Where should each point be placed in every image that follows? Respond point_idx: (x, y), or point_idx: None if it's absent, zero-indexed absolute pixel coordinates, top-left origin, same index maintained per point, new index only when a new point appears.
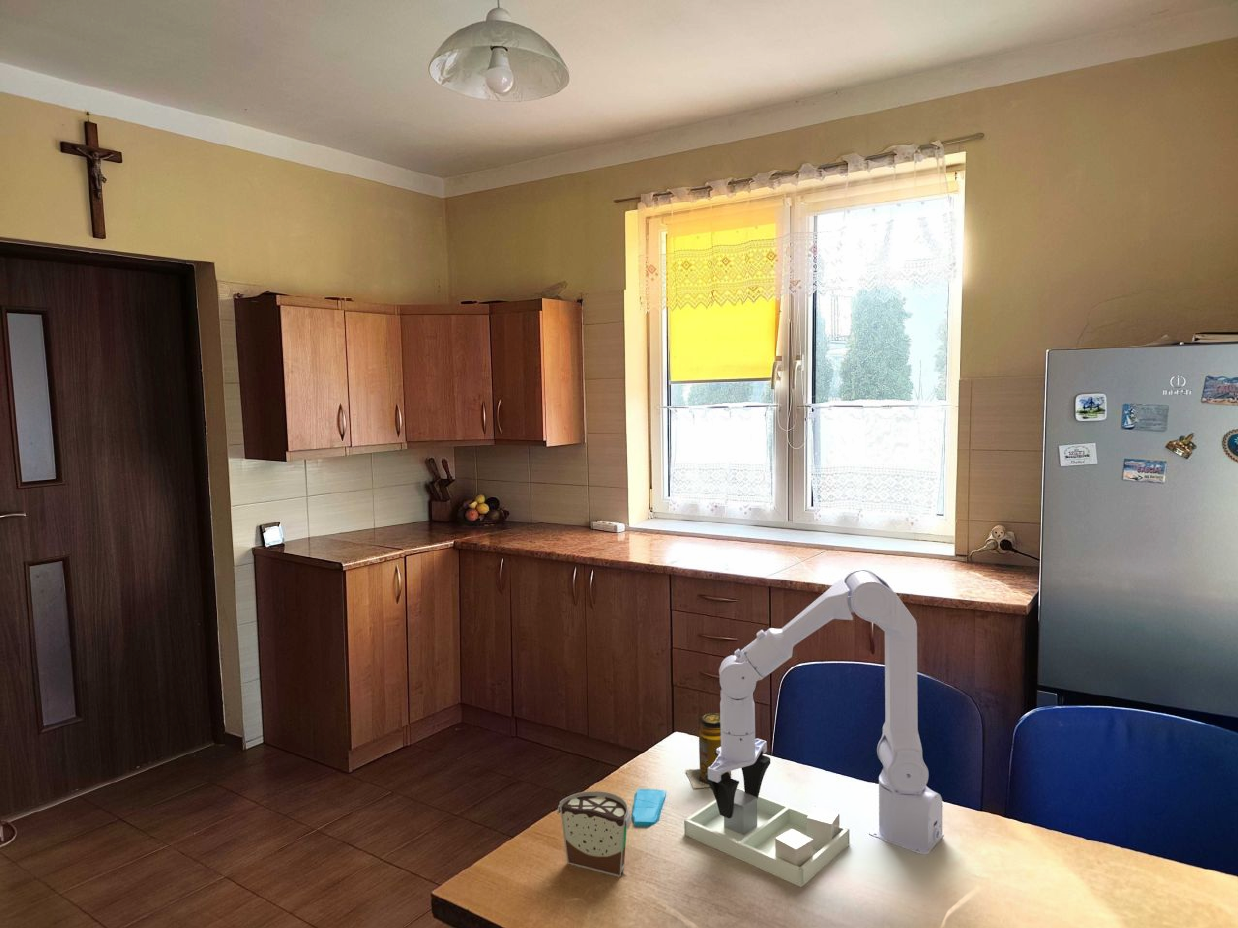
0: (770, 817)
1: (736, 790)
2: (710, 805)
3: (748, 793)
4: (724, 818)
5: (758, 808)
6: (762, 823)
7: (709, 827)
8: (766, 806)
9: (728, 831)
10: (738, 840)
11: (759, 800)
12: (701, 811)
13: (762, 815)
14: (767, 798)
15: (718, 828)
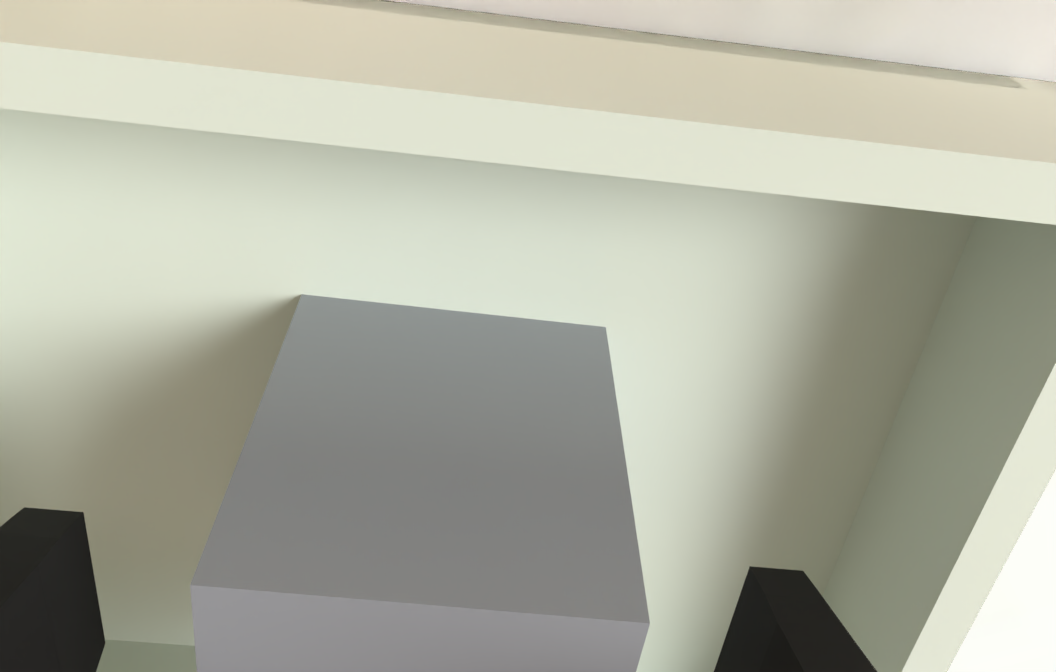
0: None
1: (613, 621)
2: (303, 135)
3: (753, 653)
4: (278, 366)
5: (891, 452)
6: None
7: (158, 147)
8: (876, 584)
9: (255, 373)
10: (180, 519)
11: (930, 538)
12: (9, 106)
13: (788, 507)
14: (942, 653)
15: (224, 254)
